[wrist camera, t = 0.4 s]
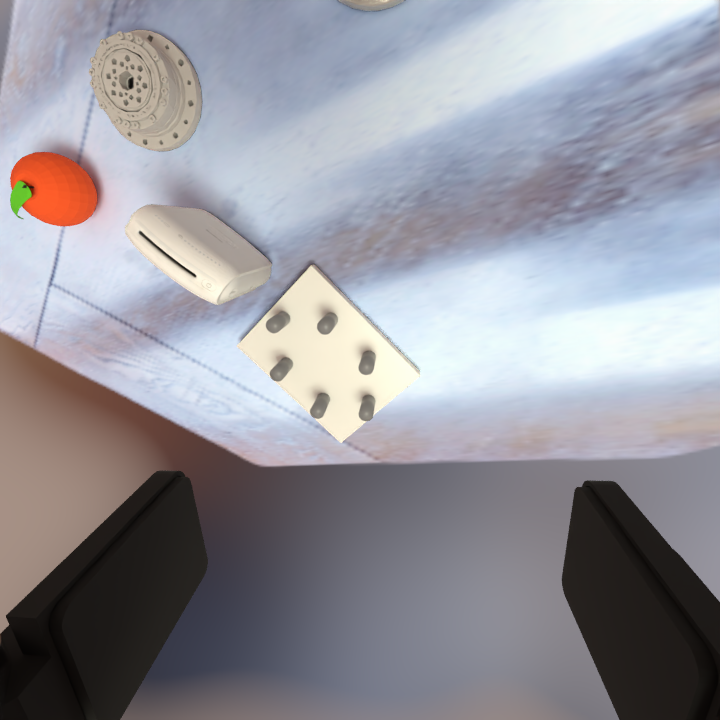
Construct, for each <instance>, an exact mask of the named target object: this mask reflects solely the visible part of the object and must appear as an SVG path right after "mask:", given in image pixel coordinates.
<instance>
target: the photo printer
mask: <svg viewBox="0 0 720 720" xmlns="http://www.w3.org/2000/svg"><path fill="white" fill-rule="evenodd" d="M125 232H126V235H127V237H128V238H129V239H130V241H131V242H132V243H133V245H134V246H135V247H136V248H137V249H138V250H139V251H140V252H141V253H142V254H143V255H144V256H145V257H146V258H147V259H148V260H149V261H150V262H151V263H153V264H154V265H155V266H156V267H157V268H158V269H160V270H161V271H162V272H163V273H164V274H166V275H167V276H169V277H170V278H171V279H173V280H174V281H175V282H177V283H178V284H180V285H181V286H183V287H184V288H185V289H187V290H189V291H190V292H192V293H193V294H195V295H197V296H199V297H201V298H202V299H204V300H207V301H209V302H211V303H214V304H216V305H220V304H222V303H225V302H227V301H229V300H232V299H234V298H236V297H239V296H241V295H243V294H246V293H248V292H251V291H253V290H255V289H256V287H259V286H261V285H263V284H265V283H266V282H267V281H268V279H269V278H270V275H271V266H272V264H271V263H270V262H269V260H268V259H267V258H266V257H265V256H264V255H263V254H261V253H260V252H259V251H258V250H257V249H256V248H254V247H253V246H252V245H251V244H250V243H249V242H247V241H246V240H245V239H244V238H242V237H241V236H240V235H239V234H237V233H236V232H235V231H234V230H232V229H231V228H230V227H228V226H227V225H226V224H224V223H223V222H222V221H220V220H219V219H218V218H216V217H215V216H213V215H212V214H210V213H208V212H207V211H205V210H202V209H196V208H186V207H176V206H164V205H153V204H151V205H146V206H143V207H142V208H140V209H138V210H137V211H136V212H135V213H133V215H132V216H131V219H130V221H129V223H128V224H127V225H126V227H125Z"/></svg>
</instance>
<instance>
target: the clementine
mask: <svg viewBox="0 0 720 720" xmlns="http://www.w3.org/2000/svg"><path fill="white" fill-rule="evenodd" d="M10 179H11V187H12V193H11V199H10V202H11V208H12V210H13V212H14V213H15V214H16V216H17V217H18V218H21V217H19V216H18V215H17V213H18V210H19V208H20V207H21V206H22V207H23V208H24V209H25V210H26V211H27V212H28V213H29V214H31V215H32V216H34V217H36V218H37V219H39V220H41V221H43V222H45V223H48V224H52V225H57V226H72V225H77V224H80V223H82V222H84V221H85V220H87V219H88V218H89V217H90V216H91V215H92V214H93V212H94V211H95V208H96V204H97V193H96V188H95V186H94V184H93V181H92V179H91V178H90V176H89V175H88V174H87V172H86V171H85V170H84V169H82V168H81V167H80V166H79V165H78V164H77V163H75V162H74V161H72V160H70V159H69V158H67V157H64V156H62V155H59V154H55V153H50V152H35V153H32V154H30V155H27V156H25V157H22V158H21V159H20V160H19V161H18V162H17V163H16V165H15V166H14V168H13V170H12V172H11V178H10ZM21 219H23V218H21Z"/></svg>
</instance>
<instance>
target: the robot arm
mask: <svg viewBox="0 0 720 720" xmlns="http://www.w3.org/2000/svg"><path fill="white" fill-rule="evenodd" d="M338 1H339V2H341V3H343V4H345V5H347V6H349V7H351V8H354V9H359V10H364V11H379V10H383V9H387V8H391V7H394V6H395V5H397V4H399V3H401V2H403V1H405V0H338ZM207 564H208V559H207V554H206V550H205V545H204V540H203V536H202V531H201V527H200V522H199V517H198V513H197V508H196V504H195V499H194V494H193V490H192V485H191V481H190V479H189V478H188V477H185V475H184V473H183V472H181V471H157V472H156V473H154V474H153V475H152V476H151V477H150V478H149V479H148V480H147V481H146V482H145V483H144V484H143V485H142V486H141V487H139V488H138V489H137V490H136V491H135V492H134V493H133V494H132V496H130V497H129V498H128V499H127V500H126V501H125V502H124V503H123V504H122V505H121V506H120V507H119V508H118V509H117V510H115V511H114V512H113V513H112V514H111V515H110V516H109V517H108V518H107V519H106V520H105V521H104V522H103V523H102V524H101V525H100V526H99V527H98V528H97V529H96V530H95V531H94V532H93V533H92V534H91V535H89V536H88V537H87V539H85V540H84V541H83V542H82V543H81V544H80V545H79V546H78V547H77V548H76V549H75V550H74V551H73V552H72V553H71V554H70V555H69V556H68V557H67V558H66V559H65V560H63V562H61V563H60V564H59V565H58V566H57V567H56V568H55V569H54V570H53V571H52V572H51V573H50V574H49V575H48V576H47V577H46V578H45V579H44V580H43V581H42V582H41V583H39V584H38V585H37V587H35V588H34V589H33V590H32V591H31V592H30V593H29V594H28V595H27V596H26V597H25V598H24V599H23V600H22V601H21V602H20V603H19V604H18V605H17V606H16V607H15V608H14V609H13V610H11V611H10V612H9V613H8V614H7V615H6V618H7V620H8V622H9V626H8V627H7V628H6V629H5V630H4V631H3V632H2V633H1V634H0V720H120V719H121V717H122V715H123V714H124V712H125V710H126V709H127V707H128V705H129V704H130V702H131V700H132V698H133V697H134V695H135V693H136V692H137V690H138V688H139V686H140V685H141V683H142V681H143V680H144V678H145V676H146V674H147V673H148V671H149V669H150V668H151V666H152V664H153V662H154V661H155V659H156V657H157V655H158V654H159V652H160V650H161V649H162V647H163V645H164V644H165V642H166V640H167V639H168V637H169V635H170V633H171V632H172V630H173V628H174V627H175V625H176V623H177V621H178V620H179V618H180V616H181V614H182V613H183V611H184V609H185V608H186V606H187V604H188V603H189V601H190V599H191V597H192V596H193V594H194V592H195V591H196V589H197V587H198V585H199V584H200V582H201V580H202V579H203V577H204V575H205V573H206V570H207ZM562 586H563V591H564V594H565V597H566V599H567V601H568V604H569V606H570V608H571V611H572V613H573V615H574V617H575V620H576V622H577V624H578V626H579V629H580V631H581V633H582V635H583V638H584V640H585V642H586V644H587V647H588V649H589V651H590V654H591V656H592V658H593V660H594V663H595V665H596V667H597V670H598V672H599V674H600V676H601V679H602V681H603V683H604V685H605V688H606V690H607V692H608V695H609V697H610V699H611V701H612V704H613V706H614V708H615V711H616V713H617V715H618V717H619V720H720V602H719V601H718V600H717V598H716V597H715V596H714V595H713V594H712V593H711V591H710V590H709V589H708V588H707V587H706V585H705V584H704V583H703V582H702V581H701V580H700V579H699V577H698V576H697V575H696V574H695V573H694V572H693V570H692V569H691V568H690V567H689V565H688V564H687V563H686V562H685V561H684V560H683V558H682V557H681V556H680V555H679V554H678V553H677V552H676V551H675V550H673V549H672V548H671V546H670V545H669V544H668V543H667V542H666V541H665V539H664V538H663V537H662V536H661V535H660V533H659V532H658V531H657V530H656V529H655V528H654V526H653V525H652V524H651V523H650V522H649V520H647V518H646V517H645V516H644V515H643V514H642V512H641V511H640V510H639V509H638V507H637V506H636V505H635V504H634V503H633V502H632V500H631V499H630V498H629V497H628V496H627V495H626V493H625V492H624V491H623V490H622V489H621V487H620V486H619V485H618V484H617V483H616V482H613V481H585V482H584V483H583V486H582V487H577V488H576V489H575V492H574V499H573V506H572V513H571V519H570V526H569V533H568V540H567V547H566V554H565V560H564V567H563V574H562Z"/></svg>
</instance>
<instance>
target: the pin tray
mask: <svg viewBox="0 0 720 720" xmlns="http://www.w3.org/2000/svg"><path fill="white" fill-rule="evenodd" d="M237 347H238V348H239V349H240V350H241V351H243V352H244V353H245V354H246V355H247V356H248V357H249V358H250V359H251V360H252V361H253V362H254V363H255V364H257V365H258V366H259V367H260V368H261V369H262V370H263V371H264V372H265V373H266V374H267V375H268V376H269V377H270V378H272V379H273V380H274V381H275V382H276V383H277V384H278V385H279V386H280V387H281V388H282V389H283V390H284V391H286V392H287V393H288V394H289V395H290V396H291V397H292V398H293V399H294V400H295V401H296V402H297V403H298V404H300V405H301V406H302V407H303V408H304V409H305V410H306V411H307V412H308V413H309V414H310V415H311V416H312V417H313V418H315V419H316V420H317V421H318V422H319V423H320V424H321V425H322V426H323V427H324V428H325V429H326V430H327V431H329V432H330V433H331V434H332V435H333V436H334V437H335V438H336V439H337V440H338V441H339V442H340V443H341V442H343V441H344V440H345V439H346V438H347V437H349V436H350V435H351V434H352V433H353V432H354V431H356V430H357V429H358V428H359V427H360V426H362V425H363V424H364V423H365V422H366V421H370V420H371V419H372V418H373V415H375V414H376V413H377V412H378V411H379V410H380V409H382V408H383V407H384V406H385V405H386V404H388V403H389V402H390V401H391V400H392V399H394V398H395V397H396V396H397V395H398V394H399V393H401V392H402V391H403V390H404V389H405V388H407V387H408V386H409V385H410V384H411V383H412V382H414V381H415V380H416V379H417V378H418V377H420V371H419V370H418V369H417V368H416V367H415V366H414V365H413V364H412V363H411V362H410V361H409V360H408V359H407V358H406V357H405V356H404V355H403V354H402V353H401V352H400V351H399V350H398V349H397V348H396V347H395V346H394V345H393V344H392V343H391V342H390V341H389V340H388V339H387V338H386V337H385V336H384V335H383V333H382V332H381V331H380V330H379V329H378V328H377V327H376V326H375V325H374V324H373V323H372V322H371V321H370V320H369V319H368V318H367V317H366V316H365V315H364V314H363V313H362V312H361V311H360V310H359V309H358V308H357V307H356V306H355V305H354V304H353V303H352V302H351V301H350V300H349V299H348V298H347V297H346V296H345V295H344V294H343V293H342V292H341V291H340V290H339V289H338V288H337V287H336V286H335V285H334V284H333V283H332V282H331V281H330V280H329V279H328V278H327V277H326V276H325V275H324V274H323V273H322V272H321V271H320V270H319V269H318V268H317V267H316V265H315V264H314V265H311V266H310V267H309V268H308V269H307V270H306V272H305V273H304V274H303V275H302V276H301V277H300V278H299V279H298V280H297V281H296V282H295V283H294V285H293V286H292V287H291V288H290V289H289V290H288V291H287V292H286V293H285V294H284V295H283V296H282V298H281V299H280V300H279V301H278V302H277V303H276V304H275V305H274V306H273V307H272V308H271V309H270V311H269V312H268V313H267V314H266V315H265V316H264V317H263V318H262V319H261V320H260V321H259V322H258V324H257V325H256V326H255V327H254V328H253V329H252V330H251V331H250V332H249V333H248V334H247V335H246V337H245V338H244V339H243V340H242V341H241V342H240V343H239V344H238V345H237Z"/></svg>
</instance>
